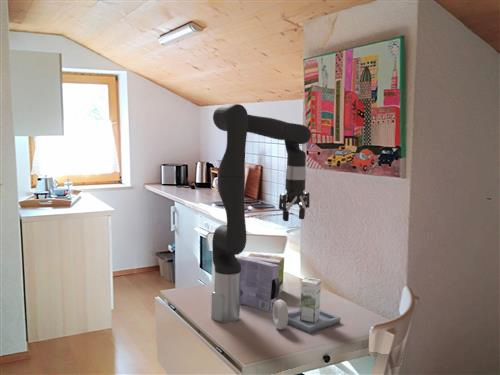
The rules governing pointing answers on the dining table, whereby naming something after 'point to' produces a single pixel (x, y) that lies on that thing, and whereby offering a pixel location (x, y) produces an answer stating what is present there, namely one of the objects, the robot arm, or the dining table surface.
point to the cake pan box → (258, 283)
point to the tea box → (272, 260)
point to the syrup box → (310, 299)
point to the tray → (321, 323)
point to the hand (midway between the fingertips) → (293, 219)
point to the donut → (280, 314)
